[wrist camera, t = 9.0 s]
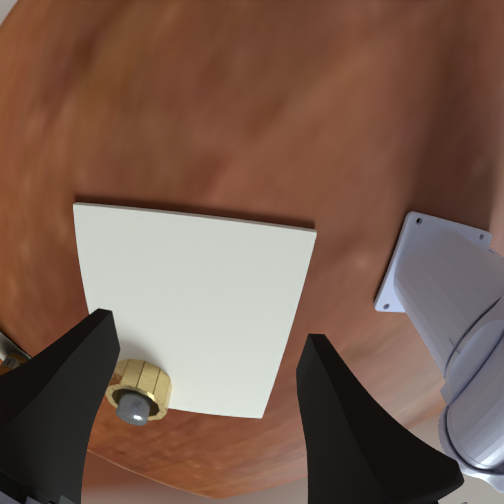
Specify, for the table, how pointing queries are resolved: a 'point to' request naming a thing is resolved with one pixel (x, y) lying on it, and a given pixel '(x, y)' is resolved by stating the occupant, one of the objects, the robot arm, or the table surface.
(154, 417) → the ring
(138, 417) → the piston
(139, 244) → the mat
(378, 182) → the table surface
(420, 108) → the table surface
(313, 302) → the table surface
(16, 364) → the condiment
